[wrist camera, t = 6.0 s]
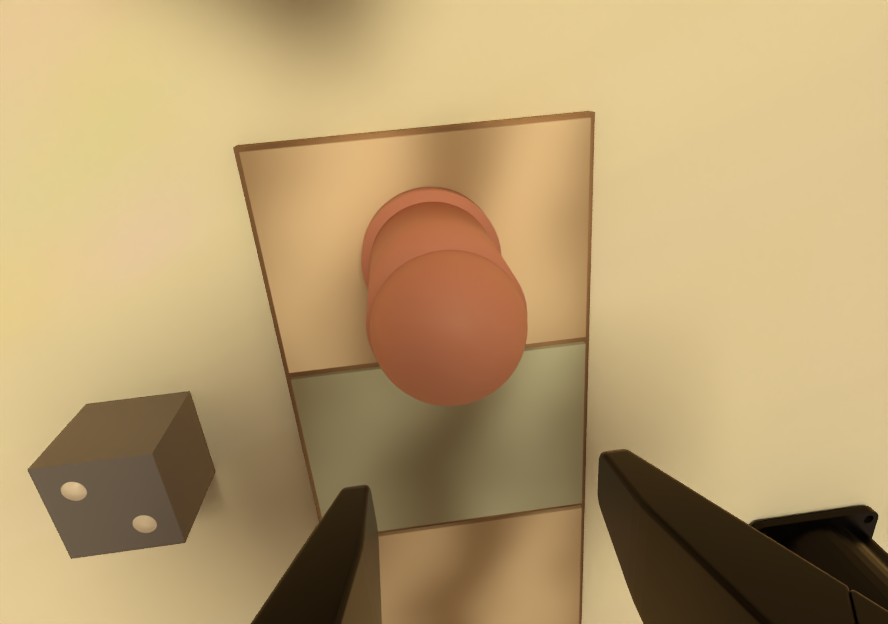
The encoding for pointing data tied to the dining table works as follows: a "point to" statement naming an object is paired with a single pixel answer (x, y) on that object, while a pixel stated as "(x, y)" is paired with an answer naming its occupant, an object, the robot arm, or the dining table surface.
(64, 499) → the die
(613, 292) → the dining table surface
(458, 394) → the pawn
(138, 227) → the dining table surface
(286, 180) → the board
